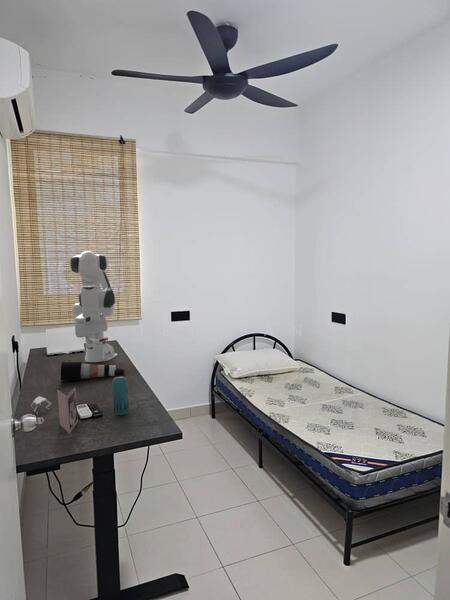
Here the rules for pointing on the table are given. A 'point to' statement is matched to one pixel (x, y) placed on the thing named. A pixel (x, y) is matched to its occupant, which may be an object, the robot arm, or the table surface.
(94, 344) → the usb plug
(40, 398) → the origami figure
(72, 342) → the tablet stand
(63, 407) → the greeting card
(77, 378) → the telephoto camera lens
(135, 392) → the table surface
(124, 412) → the beverage bottle
